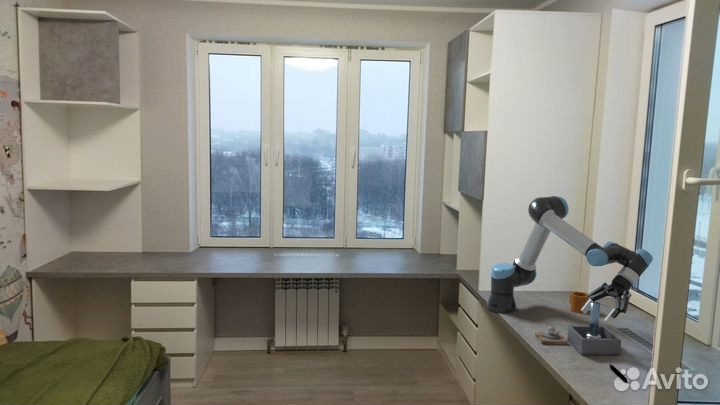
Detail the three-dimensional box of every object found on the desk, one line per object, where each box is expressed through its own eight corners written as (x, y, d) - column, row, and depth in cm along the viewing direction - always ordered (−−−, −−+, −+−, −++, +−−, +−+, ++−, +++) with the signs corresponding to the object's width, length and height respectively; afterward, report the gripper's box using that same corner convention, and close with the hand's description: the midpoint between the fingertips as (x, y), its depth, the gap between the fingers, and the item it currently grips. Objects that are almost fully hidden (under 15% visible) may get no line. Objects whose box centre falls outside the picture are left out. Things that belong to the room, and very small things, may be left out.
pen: (611, 367, 206) (611, 363, 206) (628, 384, 193) (629, 379, 192) (607, 367, 206) (607, 363, 206) (624, 383, 193) (624, 379, 192)
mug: (580, 305, 281) (581, 289, 280) (591, 313, 269) (593, 296, 268) (564, 305, 280) (565, 289, 279) (574, 313, 269) (576, 296, 267)
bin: (567, 340, 233) (568, 325, 232) (603, 341, 232) (604, 326, 231) (581, 355, 217) (582, 339, 216) (620, 356, 216) (621, 339, 215)
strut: (583, 343, 227) (585, 300, 225) (596, 343, 227) (599, 301, 225) (588, 348, 222) (591, 305, 219) (602, 348, 221) (605, 305, 219)
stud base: (534, 334, 239) (535, 321, 239) (558, 335, 239) (559, 322, 238) (542, 344, 229) (542, 330, 228) (567, 344, 228) (568, 331, 227)
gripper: (653, 293, 214) (621, 332, 212) (607, 277, 238) (578, 313, 235) (644, 282, 212) (612, 321, 209) (598, 267, 235) (569, 302, 233)
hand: (594, 317), depth 222 cm, fingers open, 13 cm apart
